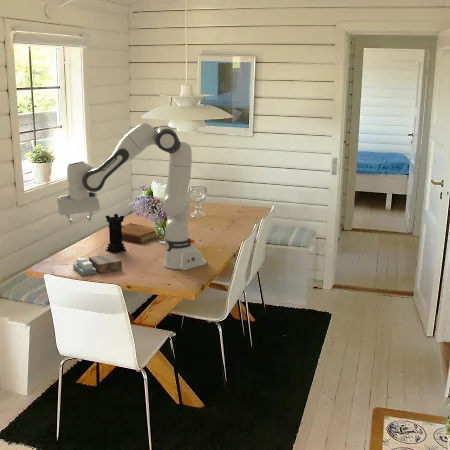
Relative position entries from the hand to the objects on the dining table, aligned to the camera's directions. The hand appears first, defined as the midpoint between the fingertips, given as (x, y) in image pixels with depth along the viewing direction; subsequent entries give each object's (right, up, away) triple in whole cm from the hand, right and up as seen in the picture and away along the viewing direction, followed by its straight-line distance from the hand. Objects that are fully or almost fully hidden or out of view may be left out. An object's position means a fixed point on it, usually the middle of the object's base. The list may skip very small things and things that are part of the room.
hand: (80, 221), depth 291 cm
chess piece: (+11, -16, +37) cm, 42 cm away
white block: (0, -24, +6) cm, 25 cm away
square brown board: (+11, -24, +8) cm, 27 cm away
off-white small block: (+3, -25, +1) cm, 25 cm away
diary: (+18, -10, +63) cm, 66 cm away
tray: (+1, -25, +4) cm, 25 cm away
